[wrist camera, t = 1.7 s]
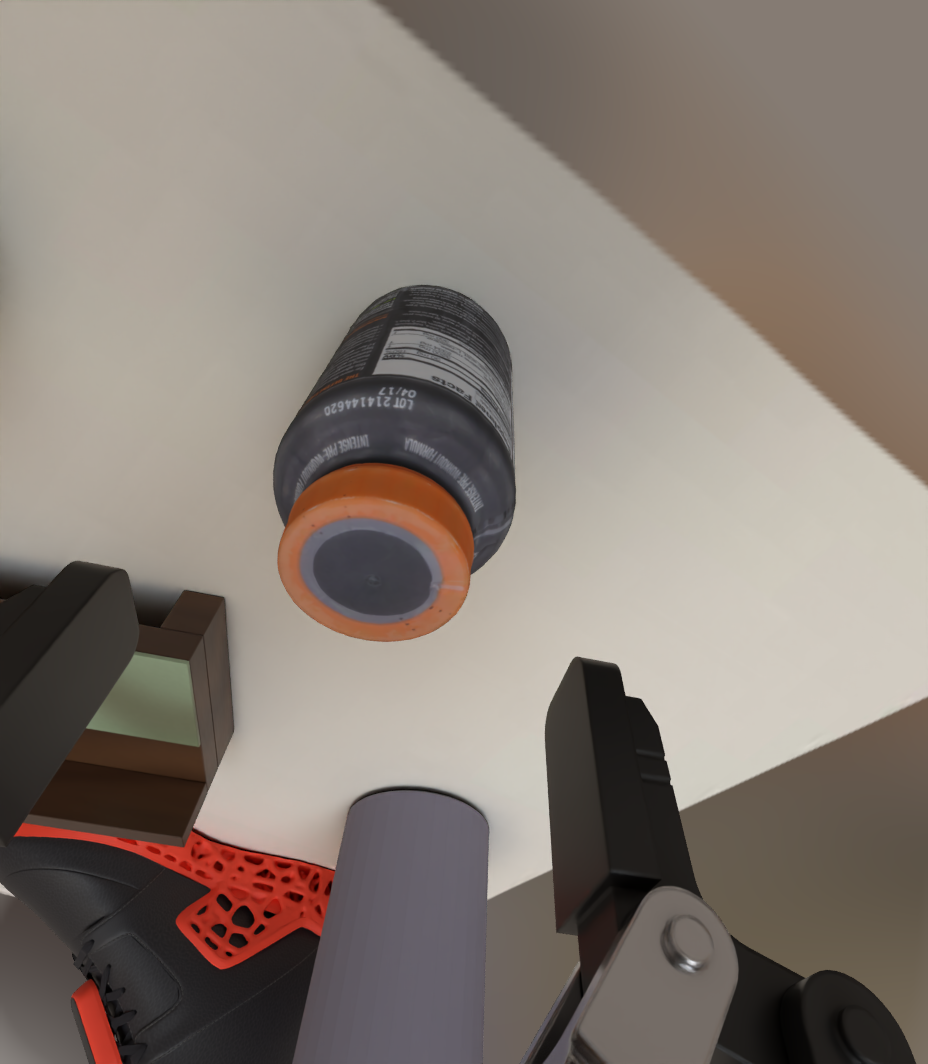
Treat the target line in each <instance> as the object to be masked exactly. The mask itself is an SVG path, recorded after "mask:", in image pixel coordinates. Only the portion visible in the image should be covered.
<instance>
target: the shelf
mask: <svg viewBox="0 0 928 1064" xmlns="http://www.w3.org/2000/svg"><path fill="white" fill-rule="evenodd" d="M3 601H5V600H3V599H0V603H2V602H3ZM233 732H234V725H233V712H232V698H231V685H230V671H229V657H228V644H227V630H226V617H225V603H224V598H222V597H217V596H212V595H206V594H201V593H196V592H191V591H183V593H182V594H181V596H180V597H179V599H178V600H177V602H176V604H175V605H174V607H173V608H172V610H171V611H170V613H169V614H168V616H167V617H166V619H165V621H164V622H163V624H162V625H161V627H160V628H157V627H151V626H146V625H140V624H139V639H138V644H137V647H136V650H135V653H134V655H133V657H132V659H131V661H130V663H129V664H128V666H127V667H126V669H125V670H124V672H123V673H122V675H121V676H120V678H119V679H118V681H117V682H116V684H115V685H114V687H113V688H112V690H111V691H110V693H109V694H108V696H107V697H106V699H105V700H104V702H103V703H102V705H101V706H100V708H99V709H98V711H97V712H96V714H95V715H94V717H93V718H92V720H91V721H90V723H89V724H88V726H87V727H86V729H85V730H84V732H83V733H82V735H81V736H80V738H79V739H78V741H77V742H76V744H75V745H74V747H73V748H72V750H71V751H70V753H69V754H68V756H67V757H66V759H65V760H64V762H63V763H62V765H61V766H60V768H59V769H58V771H57V772H56V774H55V775H54V777H53V778H52V780H51V781H50V783H49V784H48V786H47V787H46V789H45V790H44V792H43V793H42V795H41V796H40V798H39V799H38V801H37V802H36V804H35V805H34V807H33V808H32V810H31V811H30V813H29V814H28V816H27V817H26V819H25V820H24V822H23V823H27V824H33V825H40V826H46V827H53V828H59V829H66V830H72V831H79V832H85V833H92V834H98V835H105V836H112V837H118V838H125V839H131V840H138V841H144V842H151V843H157V844H164V845H170V846H177V847H185V845H186V842H187V840H188V838H189V835H190V833H191V831H192V828H193V826H194V823H195V821H196V819H197V816H198V814H199V812H200V809H201V807H202V805H203V802H204V800H205V798H206V795H207V792H208V790H209V788H210V786H211V783H212V781H213V779H214V776H215V774H216V772H217V769H218V767H219V765H220V763H221V760H222V758H223V756H224V753H225V751H226V749H227V746H228V744H229V742H230V739H231V737H232V734H233Z"/></svg>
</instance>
